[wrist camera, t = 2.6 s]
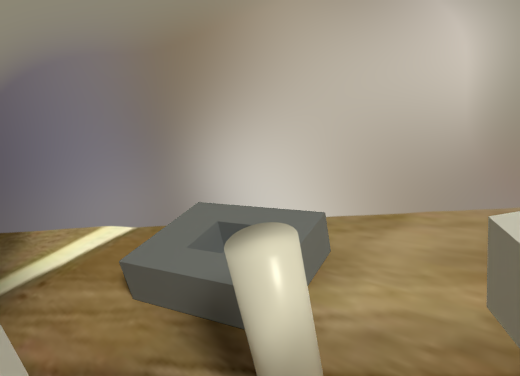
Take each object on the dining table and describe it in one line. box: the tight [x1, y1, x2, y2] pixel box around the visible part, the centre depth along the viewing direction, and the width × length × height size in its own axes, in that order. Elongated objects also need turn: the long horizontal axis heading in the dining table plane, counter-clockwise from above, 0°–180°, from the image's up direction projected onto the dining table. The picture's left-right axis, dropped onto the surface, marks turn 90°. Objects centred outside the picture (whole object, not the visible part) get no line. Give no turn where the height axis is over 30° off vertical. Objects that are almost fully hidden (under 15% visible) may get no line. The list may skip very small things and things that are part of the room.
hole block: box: [119, 202, 331, 329], centre depth 45 cm, size 18×14×5 cm
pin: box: [224, 222, 323, 376], centre depth 24 cm, size 4×4×15 cm
